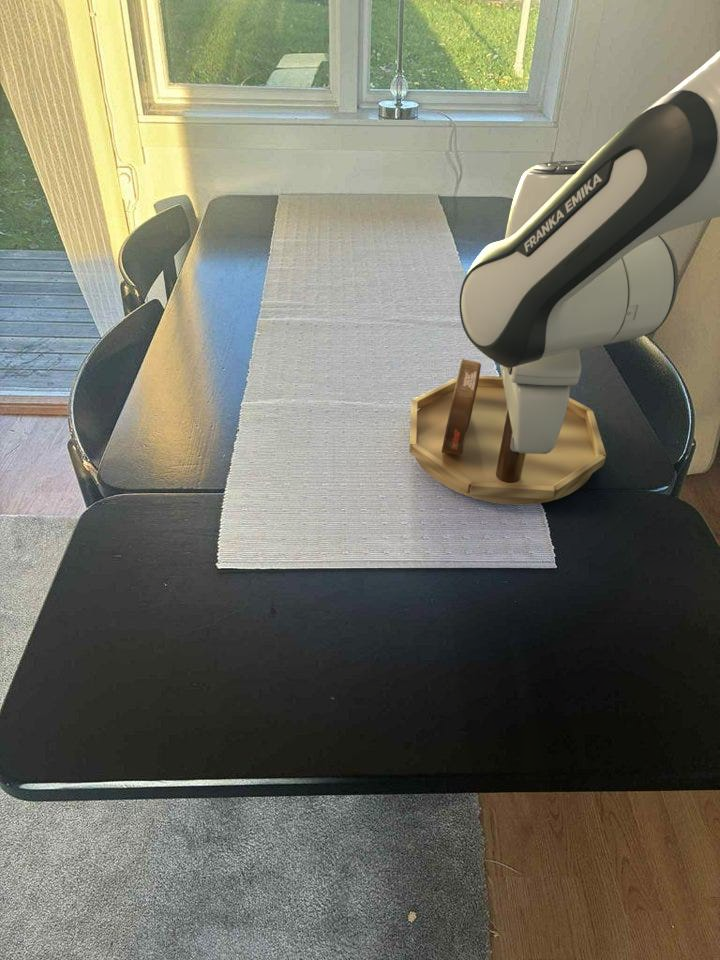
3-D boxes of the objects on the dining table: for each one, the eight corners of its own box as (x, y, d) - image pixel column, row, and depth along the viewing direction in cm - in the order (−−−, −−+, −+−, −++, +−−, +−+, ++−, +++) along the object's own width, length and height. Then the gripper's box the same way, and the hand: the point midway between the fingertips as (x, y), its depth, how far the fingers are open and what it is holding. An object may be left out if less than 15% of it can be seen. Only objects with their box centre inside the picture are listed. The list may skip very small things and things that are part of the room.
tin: (453, 399, 97) (460, 345, 91) (476, 402, 96) (484, 348, 91) (437, 466, 85) (444, 409, 80) (463, 470, 85) (471, 413, 79)
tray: (612, 511, 82) (639, 434, 74) (407, 498, 83) (413, 421, 75) (579, 396, 100) (598, 325, 92) (411, 387, 101) (416, 316, 94)
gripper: (495, 283, 80) (480, 386, 89) (516, 377, 64) (495, 492, 73) (551, 285, 80) (531, 388, 88) (585, 380, 64) (556, 494, 73)
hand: (515, 436), depth 81 cm, fingers closed on tray, 3 cm apart
